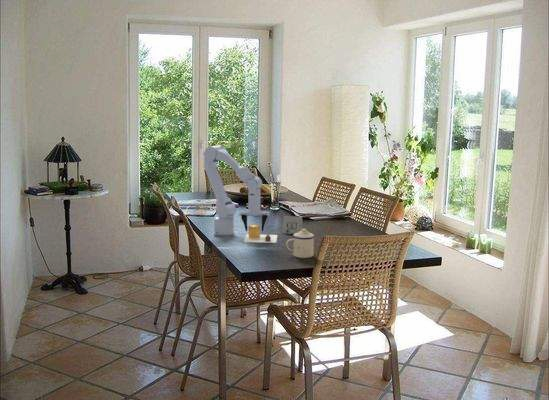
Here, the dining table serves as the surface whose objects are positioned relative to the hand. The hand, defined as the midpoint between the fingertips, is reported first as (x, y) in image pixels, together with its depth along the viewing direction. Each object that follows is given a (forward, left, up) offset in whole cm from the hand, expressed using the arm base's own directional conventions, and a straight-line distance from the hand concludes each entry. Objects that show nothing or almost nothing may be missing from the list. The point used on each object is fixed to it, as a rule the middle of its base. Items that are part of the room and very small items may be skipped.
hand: (254, 230), depth 286 cm
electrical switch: (+18, +10, -4) cm, 21 cm away
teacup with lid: (+22, -30, -4) cm, 37 cm away
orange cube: (0, 0, -3) cm, 3 cm away
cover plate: (+3, -4, -4) cm, 6 cm away
